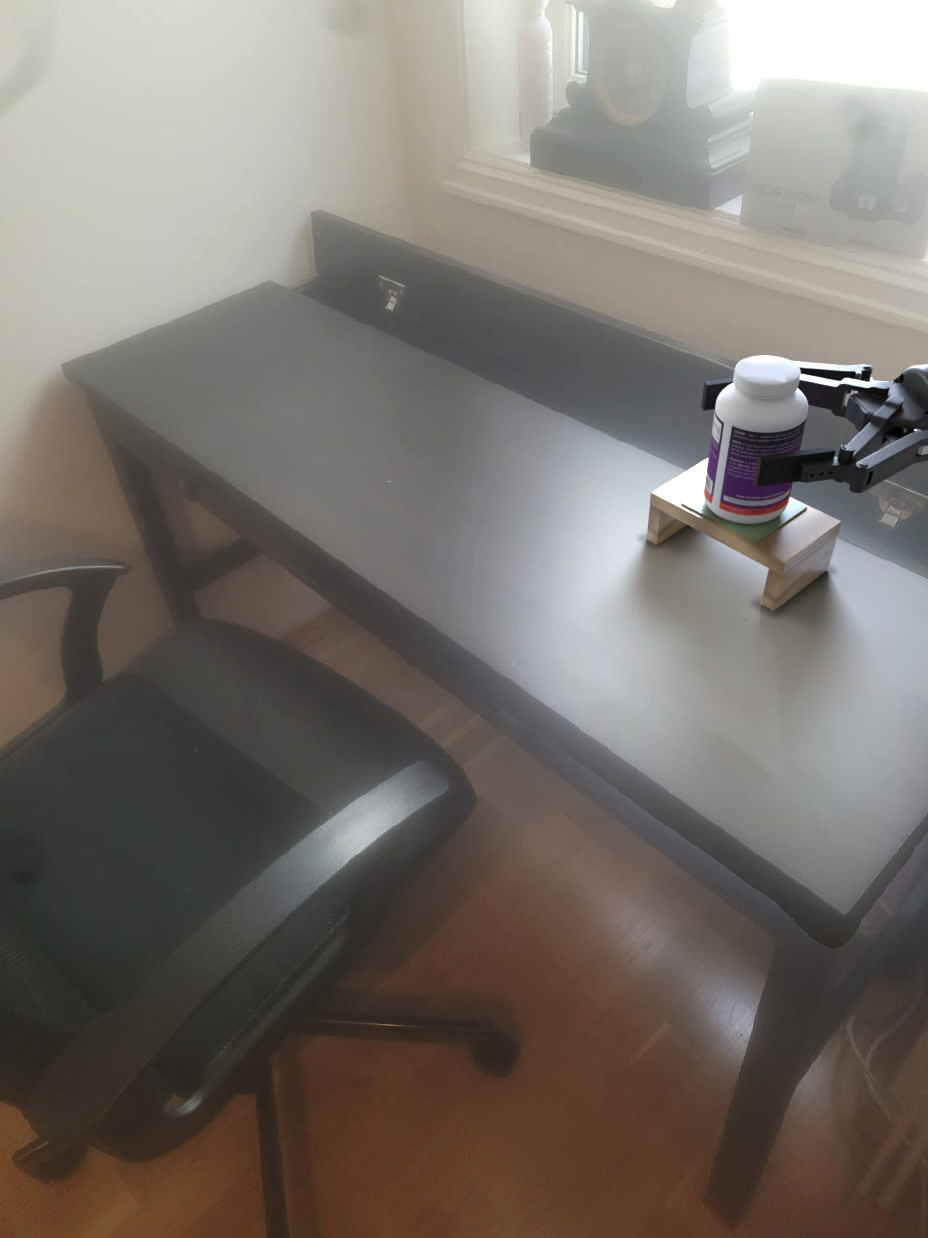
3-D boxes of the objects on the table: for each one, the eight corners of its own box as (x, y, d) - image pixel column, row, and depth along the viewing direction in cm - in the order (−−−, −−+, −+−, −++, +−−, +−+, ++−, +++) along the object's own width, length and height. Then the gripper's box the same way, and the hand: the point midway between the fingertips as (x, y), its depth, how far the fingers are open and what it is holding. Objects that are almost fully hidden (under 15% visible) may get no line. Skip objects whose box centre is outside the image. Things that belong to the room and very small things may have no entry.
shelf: (828, 569, 87) (842, 519, 82) (773, 611, 83) (785, 561, 79) (700, 503, 96) (707, 456, 92) (646, 538, 92) (650, 490, 88)
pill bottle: (804, 508, 84) (838, 371, 74) (744, 539, 81) (771, 401, 71) (742, 472, 89) (766, 339, 80) (684, 500, 86) (701, 366, 77)
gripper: (1016, 512, 74) (775, 546, 73) (875, 377, 92) (681, 402, 91) (1051, 435, 69) (792, 470, 67) (894, 309, 87) (689, 334, 86)
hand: (728, 431), depth 79 cm, fingers open, 13 cm apart
